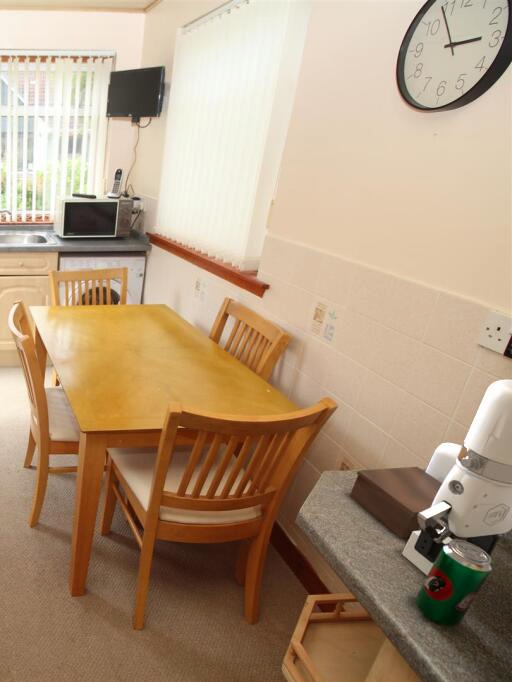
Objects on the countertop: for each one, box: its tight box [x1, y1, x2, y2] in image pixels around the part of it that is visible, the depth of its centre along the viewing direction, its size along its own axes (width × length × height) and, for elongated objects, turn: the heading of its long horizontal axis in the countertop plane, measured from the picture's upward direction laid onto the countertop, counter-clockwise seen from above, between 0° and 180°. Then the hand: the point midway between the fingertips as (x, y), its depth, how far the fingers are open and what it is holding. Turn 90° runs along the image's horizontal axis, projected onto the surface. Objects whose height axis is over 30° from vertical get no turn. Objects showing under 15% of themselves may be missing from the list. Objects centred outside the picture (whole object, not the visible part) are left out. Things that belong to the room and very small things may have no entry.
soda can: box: [414, 539, 493, 627], centre depth 67 cm, size 5×5×12 cm
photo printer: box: [425, 442, 462, 483], centre depth 89 cm, size 10×4×12 cm, turn 14°
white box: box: [401, 529, 453, 576], centre depth 76 cm, size 5×6×5 cm
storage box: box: [349, 466, 455, 539], centre depth 88 cm, size 13×11×6 cm
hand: (451, 552), depth 75 cm, fingers open, 9 cm apart
